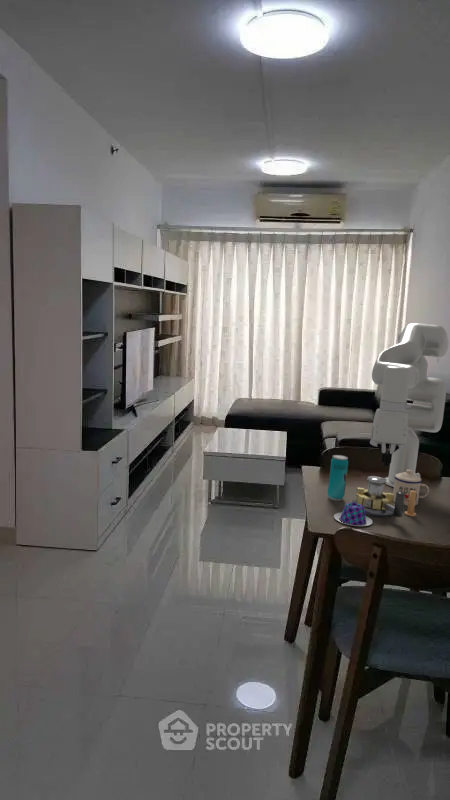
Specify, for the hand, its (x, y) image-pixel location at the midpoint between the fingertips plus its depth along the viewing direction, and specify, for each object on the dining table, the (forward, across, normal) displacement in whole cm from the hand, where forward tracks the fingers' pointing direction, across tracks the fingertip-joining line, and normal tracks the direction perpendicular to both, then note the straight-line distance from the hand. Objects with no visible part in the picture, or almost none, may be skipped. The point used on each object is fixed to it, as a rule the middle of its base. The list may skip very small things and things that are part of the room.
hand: (385, 465), depth 188 cm
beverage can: (+19, +12, -20) cm, 30 cm away
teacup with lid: (+19, -14, -25) cm, 34 cm away
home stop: (+19, -12, -12) cm, 25 cm away
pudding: (+19, +8, 0) cm, 21 cm away
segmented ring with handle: (+16, -2, -9) cm, 19 cm away
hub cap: (+19, 0, -12) cm, 22 cm away
